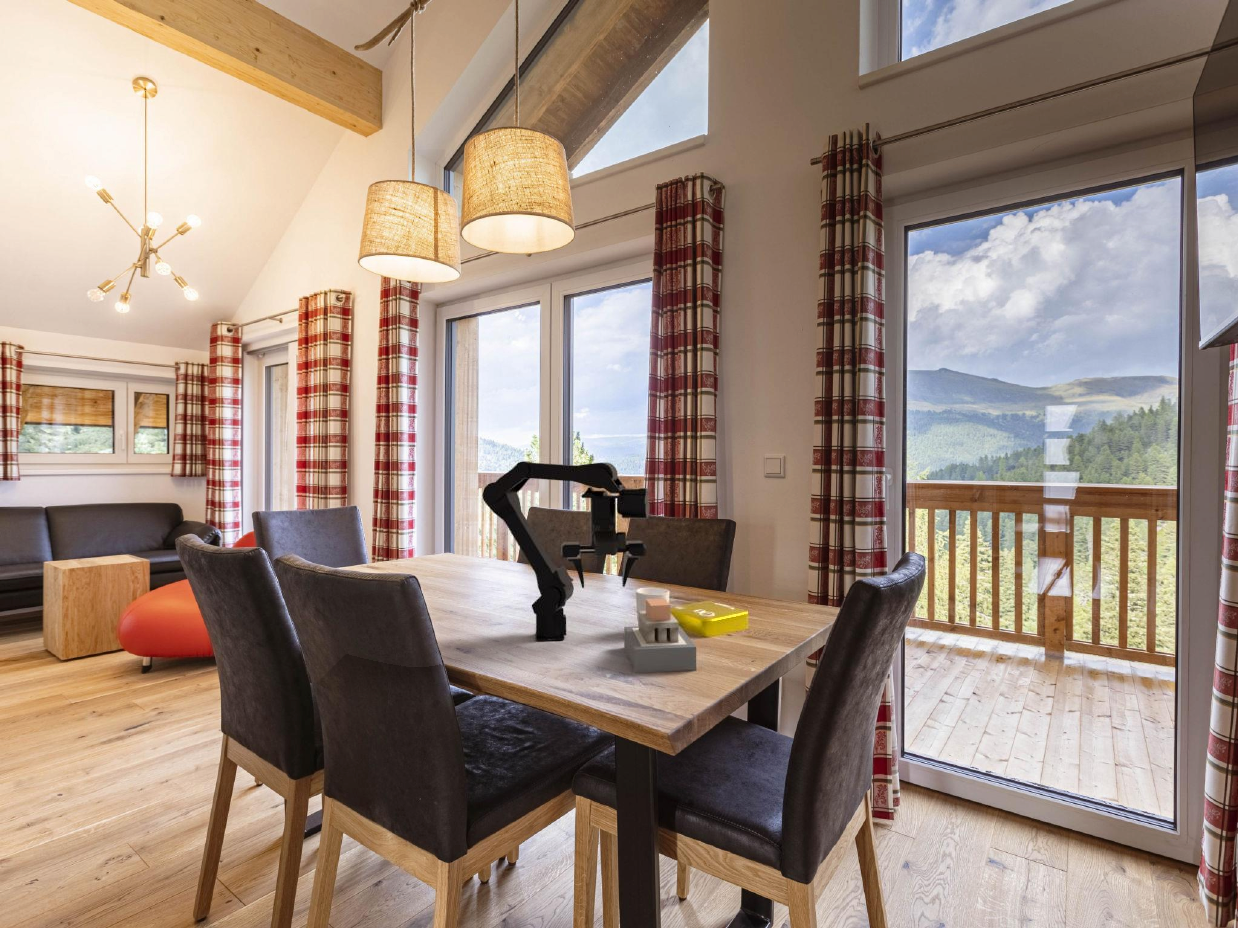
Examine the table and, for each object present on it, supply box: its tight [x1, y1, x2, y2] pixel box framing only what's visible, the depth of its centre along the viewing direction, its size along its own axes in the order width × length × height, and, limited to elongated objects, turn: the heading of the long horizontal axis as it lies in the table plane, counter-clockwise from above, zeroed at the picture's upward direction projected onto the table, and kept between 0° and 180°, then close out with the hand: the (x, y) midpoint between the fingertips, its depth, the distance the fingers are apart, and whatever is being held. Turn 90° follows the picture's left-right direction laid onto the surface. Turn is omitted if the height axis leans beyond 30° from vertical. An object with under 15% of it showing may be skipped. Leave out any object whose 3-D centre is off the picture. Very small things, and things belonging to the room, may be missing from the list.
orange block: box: [646, 598, 671, 621], centre depth 127 cm, size 4×6×3 cm, turn 7°
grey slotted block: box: [639, 611, 678, 644], centre depth 127 cm, size 6×10×4 cm, turn 7°
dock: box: [623, 625, 697, 674], centre depth 128 cm, size 12×16×5 cm
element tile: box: [670, 600, 749, 638], centre depth 152 cm, size 15×15×5 cm
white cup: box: [635, 587, 670, 626], centre depth 146 cm, size 8×8×10 cm
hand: (603, 587), depth 140 cm, fingers open, 9 cm apart
